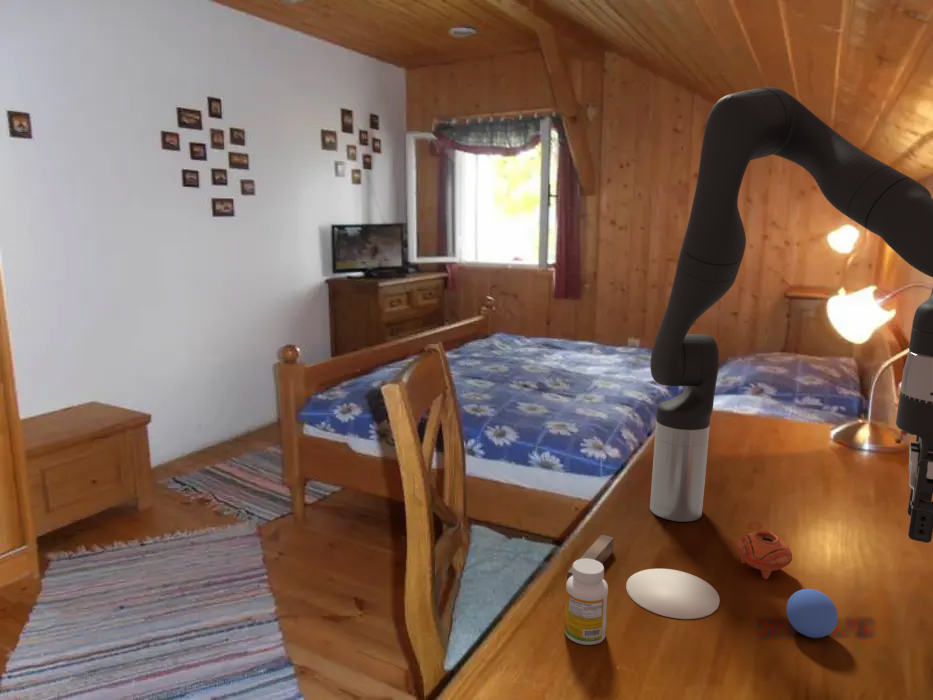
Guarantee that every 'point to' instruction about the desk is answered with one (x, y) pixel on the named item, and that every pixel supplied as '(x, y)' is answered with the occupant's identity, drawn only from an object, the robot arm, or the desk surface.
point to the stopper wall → (597, 551)
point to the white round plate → (672, 593)
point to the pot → (764, 552)
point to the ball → (812, 613)
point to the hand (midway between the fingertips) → (918, 527)
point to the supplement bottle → (586, 603)
